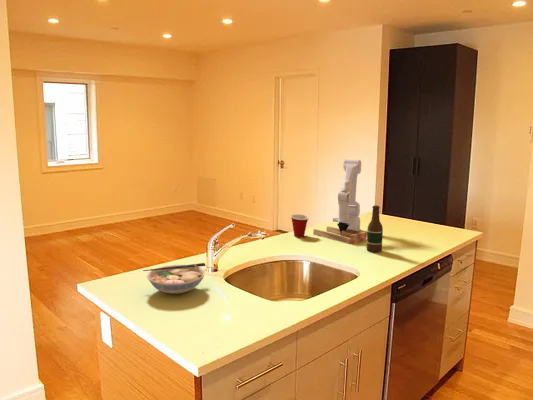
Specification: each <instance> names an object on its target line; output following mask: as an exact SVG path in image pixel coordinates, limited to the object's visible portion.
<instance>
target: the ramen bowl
mask: <svg viewBox="0 0 533 400" xmlns="http://www.w3.org/2000/svg"><path fill="white" fill-rule="evenodd" d="M202 267H206V262H200V263H193V264H191V263H190V264H171V265H164V266H159V267H157V268H153V269H152V268H151V269H143V270H142V271H143V272H148V271H149V272H148V273H147V274H146V278H147V280H148V281H149V282H150V284H151V285H152V286H153V287H154V289H155V290H157V291H160V292H162V293H166V294H170V295H181V294H184V293H186V292H189V291H192V290H194V289H195V288H196V287H197V286H199V285H200V284H201V282H202V280H203V279H204V278H205V275H206V271H205V270H204V269H203V268H202Z"/></svg>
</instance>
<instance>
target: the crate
mask: <svg viewBox="0 0 533 400" xmlns="http://www.w3.org/2000/svg"><path fill="white" fill-rule="evenodd" d="M357 233H360V231H355V230H351V229H347V230H342V231H341V236H345V237H349V238H350V235H353V234H357Z"/></svg>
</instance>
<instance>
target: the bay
mask: <svg viewBox="0 0 533 400" xmlns="http://www.w3.org/2000/svg"><path fill="white" fill-rule="evenodd" d="M312 232H313V233H312V234H313V235H315V236H319V237H323V238H326V239H330V240H332V241H338V242H341V243H345V244H349V245H355V244H359V243H363V242H367V231H362V232H359V233H357V234H353V235H350V238H349V237H345V236H341V233H340V229H339V227H338V228H337V227H333V226H326V231H325V230H320V229H317V228H314V229H313V230H312Z"/></svg>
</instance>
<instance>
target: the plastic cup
mask: <svg viewBox="0 0 533 400" xmlns="http://www.w3.org/2000/svg"><path fill="white" fill-rule="evenodd" d="M290 218H291V223H292V229H293V235H294V237H295V238H296V237H297V238H303V237H305V233H306V230H307V229H306V228H307V223H308V221H309V218H310V217H309V216H308V215H305V214H292V215H290Z"/></svg>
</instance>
